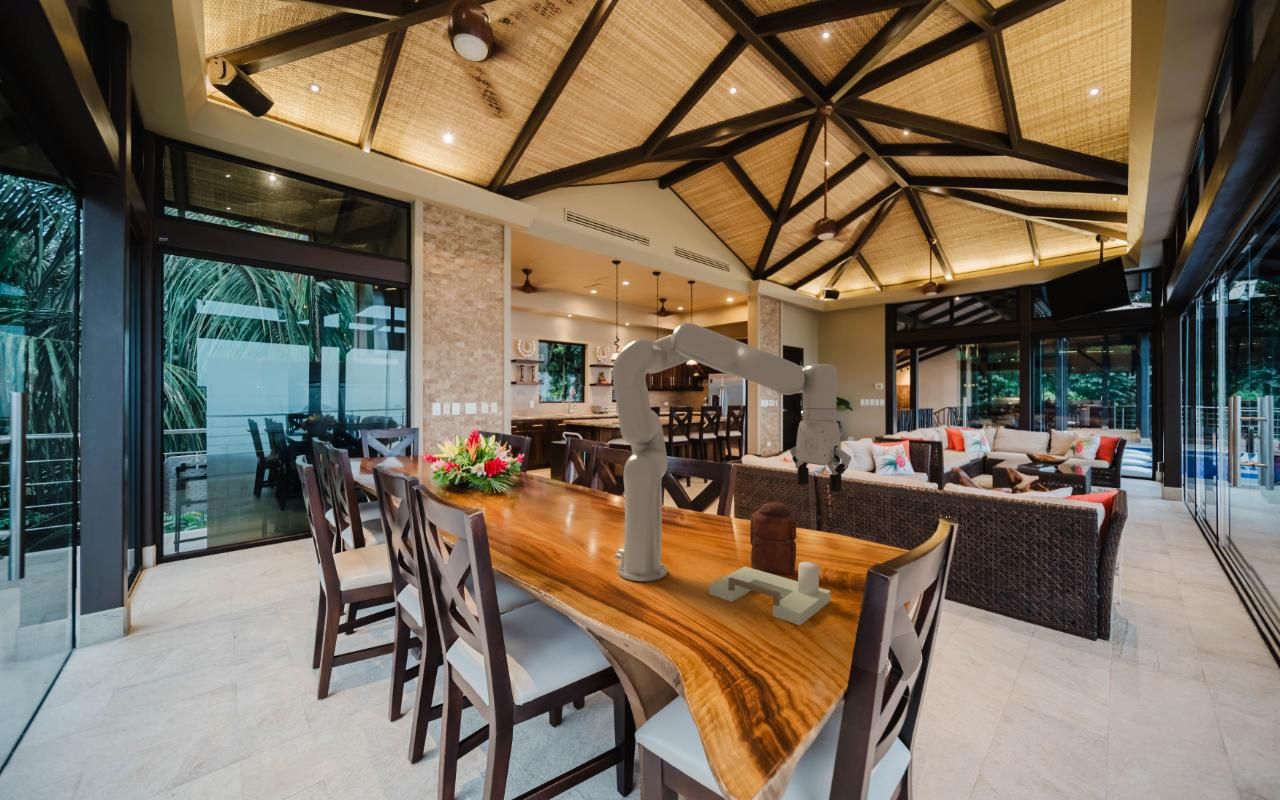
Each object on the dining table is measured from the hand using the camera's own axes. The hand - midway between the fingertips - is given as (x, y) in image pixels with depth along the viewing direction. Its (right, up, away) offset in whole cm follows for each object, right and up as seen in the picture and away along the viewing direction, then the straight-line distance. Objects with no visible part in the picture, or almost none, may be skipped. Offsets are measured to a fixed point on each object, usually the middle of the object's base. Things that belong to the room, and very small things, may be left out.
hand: (818, 487), depth 119 cm
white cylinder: (-5, -22, -7) cm, 24 cm away
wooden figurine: (-8, -24, +13) cm, 29 cm away
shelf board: (-13, -25, -5) cm, 28 cm away
